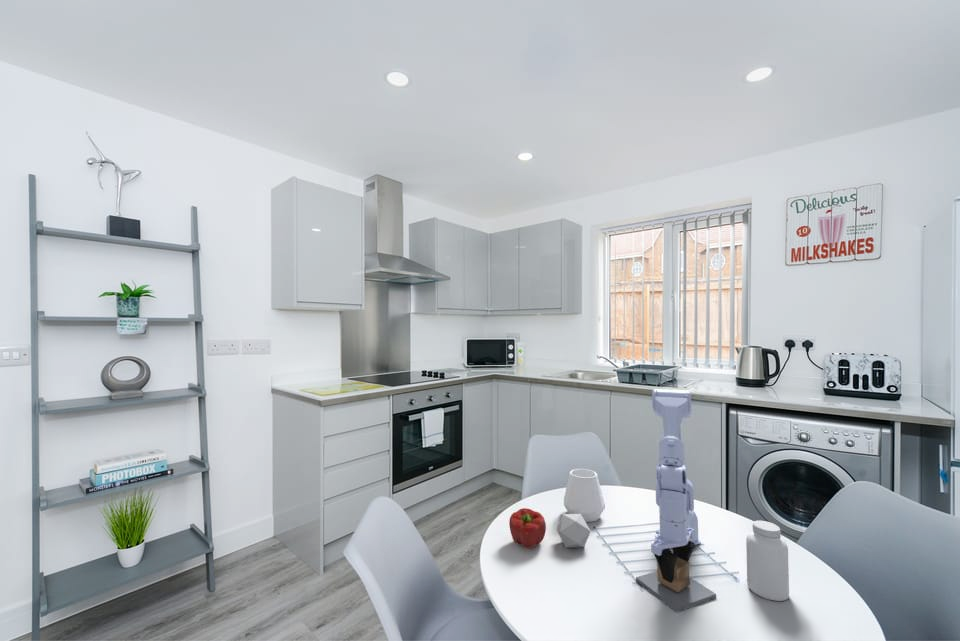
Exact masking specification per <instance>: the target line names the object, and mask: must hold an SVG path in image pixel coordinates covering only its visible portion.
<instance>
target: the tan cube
mask: <svg viewBox="0 0 960 641" xmlns="http://www.w3.org/2000/svg"><path fill="white" fill-rule="evenodd" d="M656 571H657V575H658V582H660V583H662V584H663V585H665V586H667V587H669V588H671V589H673V590H675V591H676V592H679V591H681V590H682V589H684V588H686V587H687V586H689V585H690V577H691V575H690V574H691V572H690V561H689V562H687V561H685V560H683V559H680V558H677V560H676V563H675V567H674V577H673V581H672V583H670V582H668V581H666V580H664V579H663V577H662V574H661V570H660V567H659V564H658V561H657V560H656Z"/></svg>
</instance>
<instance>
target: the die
mask: <svg viewBox="0 0 960 641" xmlns="http://www.w3.org/2000/svg"><path fill="white" fill-rule="evenodd" d="M556 531H557V534H558V535H559V538H560V540H561V542H562V543H563V545H564V547H565V548H566V549H569V548H570V549H571V548H573V549H574V548H585V546H586V544H587V541H588V539H589V536H590V534H591V530H590V528H589V526H588V524H587V522H585V520H584V519H583V517H582V515H581V514H569V513H562V515H561V518H560V520H559V523H558V525H557V528H556Z"/></svg>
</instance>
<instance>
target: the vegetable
mask: <svg viewBox="0 0 960 641" xmlns="http://www.w3.org/2000/svg"><path fill="white" fill-rule="evenodd" d="M508 522H509V524H508V525H509V530H510V535H511V538H512V540H513V542H514V543H515V544H517V545H518V546H519V545H520V546H523V547H524V548H525V549H532V548H535V546H537V545H538V546H539V545H540V544H541V543H542V542H543V540H544V539H545V534H546V531H547V530H546V529H547V523H546V520H545V518H544V516H543V515H542V514H541V513H540V512H538V511H535V510H533V509H530V508H525V507H522V508H520V509H518V510H516V511H515V512H513V513H512V514H511V515H510V517H509V520H508Z"/></svg>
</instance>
